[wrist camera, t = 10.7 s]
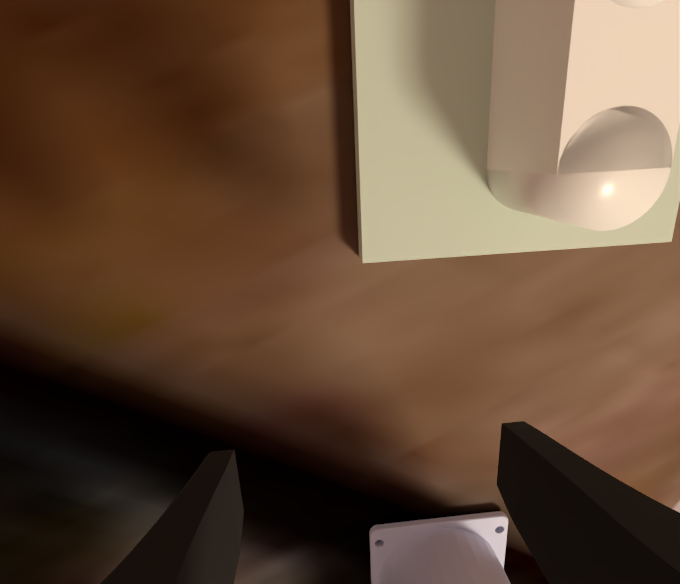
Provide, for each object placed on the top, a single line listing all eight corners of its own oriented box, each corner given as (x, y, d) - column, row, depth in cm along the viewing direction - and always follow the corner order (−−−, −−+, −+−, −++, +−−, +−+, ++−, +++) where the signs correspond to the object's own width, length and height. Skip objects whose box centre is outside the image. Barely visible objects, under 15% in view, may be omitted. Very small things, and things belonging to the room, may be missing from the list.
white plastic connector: (565, 208, 18) (660, 226, 13) (484, 213, 18) (550, 234, 13) (604, -136, 14) (753, -278, 10) (502, -134, 14) (603, -280, 9)
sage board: (650, 236, 20) (671, 241, 19) (358, 256, 19) (362, 262, 18) (712, -102, 16) (743, -122, 15) (346, -98, 15) (349, -118, 14)
